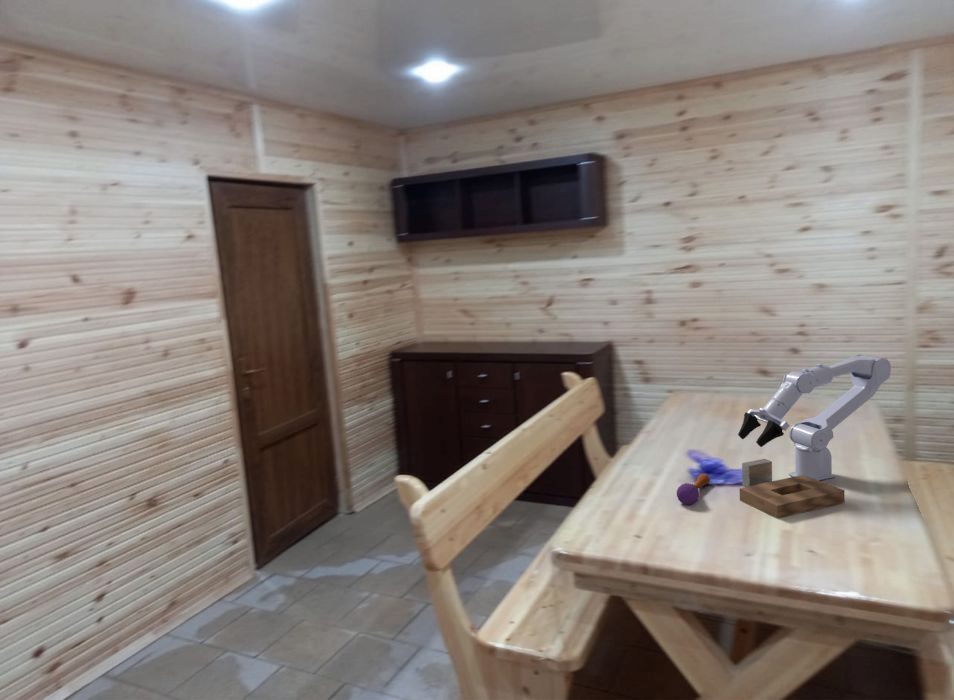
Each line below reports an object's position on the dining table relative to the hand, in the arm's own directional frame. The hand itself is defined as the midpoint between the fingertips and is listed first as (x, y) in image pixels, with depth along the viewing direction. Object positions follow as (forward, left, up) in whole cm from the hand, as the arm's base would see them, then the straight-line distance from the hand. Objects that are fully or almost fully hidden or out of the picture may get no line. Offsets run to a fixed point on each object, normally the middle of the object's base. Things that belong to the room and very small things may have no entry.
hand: (749, 440), depth 183 cm
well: (-2, +13, -14) cm, 19 cm away
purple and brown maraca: (+17, -3, -15) cm, 22 cm away
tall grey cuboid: (-3, -1, -14) cm, 15 cm away
